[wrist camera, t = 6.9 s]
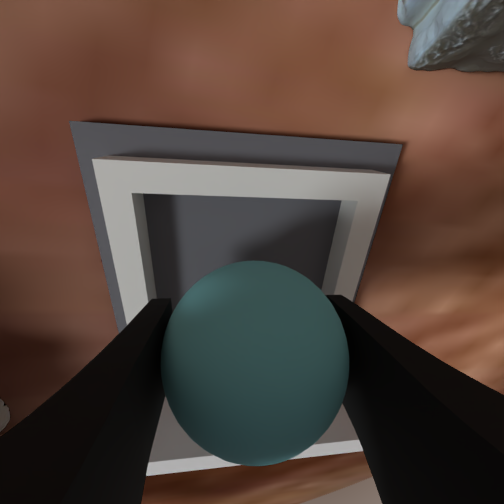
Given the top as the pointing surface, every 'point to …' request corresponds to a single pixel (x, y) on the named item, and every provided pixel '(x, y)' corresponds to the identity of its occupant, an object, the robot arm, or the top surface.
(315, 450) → the wall
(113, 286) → the mat
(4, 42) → the top surface
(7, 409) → the jagged rock
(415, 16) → the chocolate cake
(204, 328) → the ball
